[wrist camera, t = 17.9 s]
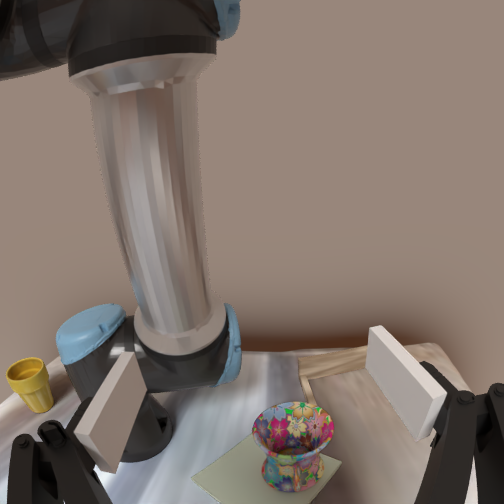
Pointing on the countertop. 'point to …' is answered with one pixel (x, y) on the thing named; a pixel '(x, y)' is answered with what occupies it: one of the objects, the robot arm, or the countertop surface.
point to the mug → (293, 444)
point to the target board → (253, 478)
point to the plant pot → (31, 383)
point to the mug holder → (329, 367)
